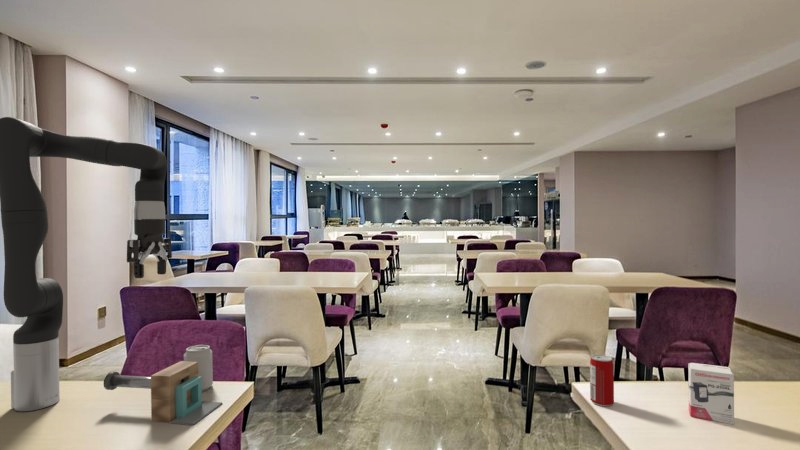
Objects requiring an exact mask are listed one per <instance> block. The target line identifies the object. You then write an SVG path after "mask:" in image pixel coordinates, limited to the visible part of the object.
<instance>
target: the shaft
mask: <svg viewBox="0 0 800 450" xmlns="http://www.w3.org/2000/svg"><path fill="white" fill-rule="evenodd" d="M183 382H184V380H183V379H181V380H180V384H182V383H183ZM103 388H104V389H105V390H107V391H114V390H115V389H117V388H131V389H133V388H134V389H148V390H149V389H150V390H151V376H142V375H141V376H140V375H121V374H120V372H118V371H110V372H108V373H107V374H106V375H105V377H104V379H103Z"/></svg>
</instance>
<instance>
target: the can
mask: <svg viewBox="0 0 800 450" xmlns="http://www.w3.org/2000/svg"><path fill="white" fill-rule="evenodd" d="M210 347H211V346H210V345H207V344H197V345H191V346H189V347H187V348H186V349H185V351H186V352H185V353H183V361H190V362H198V377H201V384H202V392H204V391H207V390H209V389H210V388H211V387H212V385H213V383H214V382H213V381H214V379H213V373H214V372H213V350H212V349H210Z"/></svg>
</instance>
